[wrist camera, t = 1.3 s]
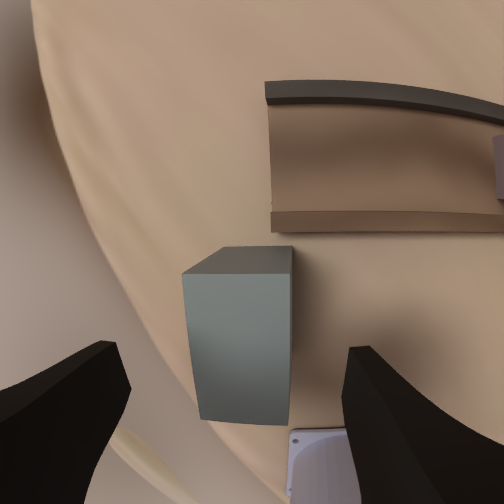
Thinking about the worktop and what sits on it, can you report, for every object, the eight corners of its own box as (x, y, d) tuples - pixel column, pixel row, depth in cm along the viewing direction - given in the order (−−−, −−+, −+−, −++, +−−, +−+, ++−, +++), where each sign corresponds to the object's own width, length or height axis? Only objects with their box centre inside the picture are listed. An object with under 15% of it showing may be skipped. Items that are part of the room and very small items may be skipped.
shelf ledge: (548, 230, 14) (566, 234, 12) (274, 228, 17) (271, 232, 15) (542, 127, 13) (558, 123, 11) (268, 92, 16) (264, 78, 14)
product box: (292, 245, 17) (289, 273, 11) (292, 354, 18) (287, 425, 12) (220, 246, 18) (176, 273, 11) (227, 352, 19) (196, 418, 12)
